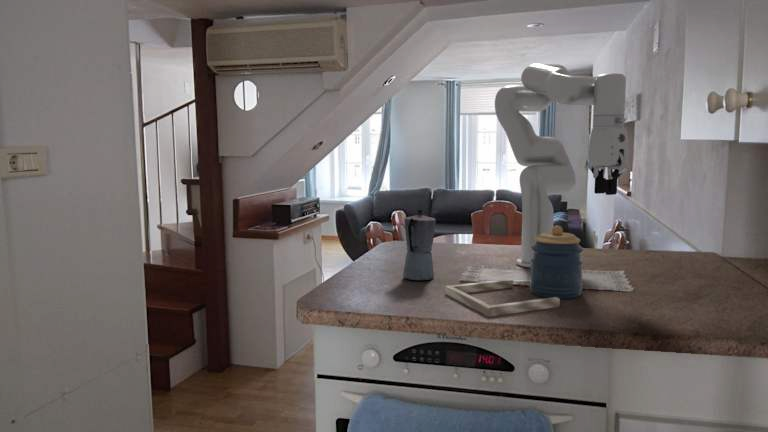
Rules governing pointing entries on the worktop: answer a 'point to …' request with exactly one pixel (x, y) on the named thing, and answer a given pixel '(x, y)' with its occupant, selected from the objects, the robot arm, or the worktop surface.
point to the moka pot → (419, 247)
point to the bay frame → (500, 309)
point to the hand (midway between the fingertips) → (605, 193)
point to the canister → (556, 265)
